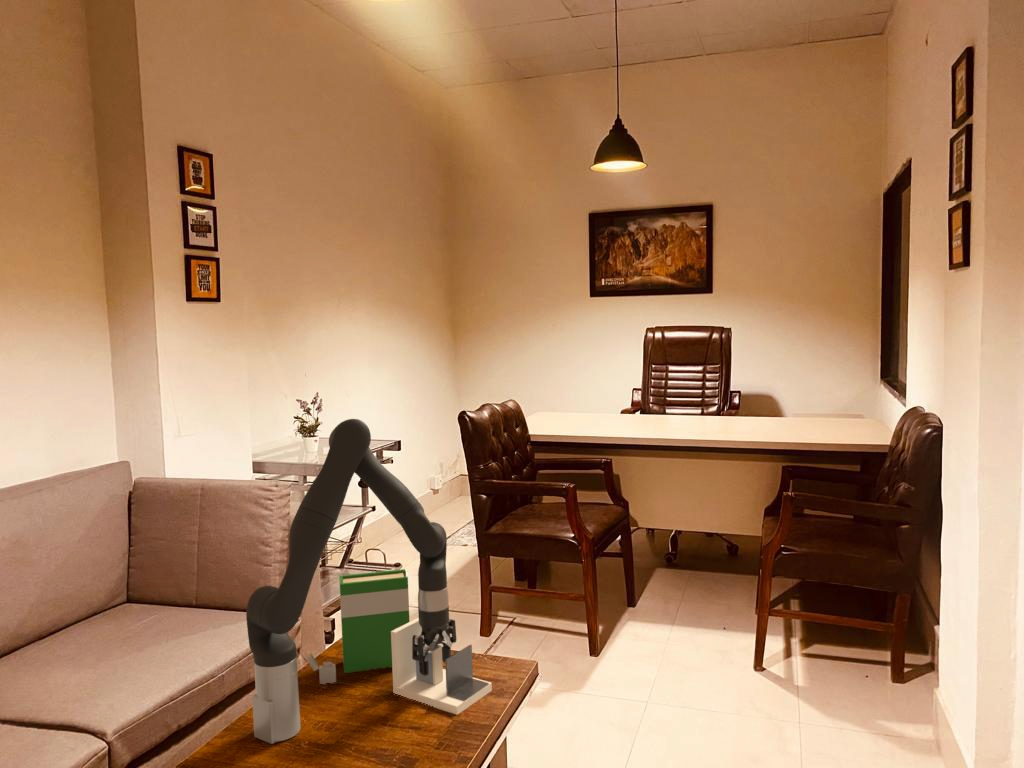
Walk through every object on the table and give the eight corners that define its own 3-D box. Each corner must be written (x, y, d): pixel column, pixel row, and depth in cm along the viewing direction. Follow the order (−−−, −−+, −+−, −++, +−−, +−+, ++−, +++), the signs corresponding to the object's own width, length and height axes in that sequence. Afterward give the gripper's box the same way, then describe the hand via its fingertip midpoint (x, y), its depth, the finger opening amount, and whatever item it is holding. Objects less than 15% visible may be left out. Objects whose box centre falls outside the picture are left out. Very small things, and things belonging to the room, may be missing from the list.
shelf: (457, 714, 185) (455, 648, 184) (393, 694, 197) (390, 631, 195) (491, 690, 197) (490, 628, 196) (429, 672, 208) (427, 612, 207)
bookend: (464, 701, 188) (463, 664, 187) (446, 695, 191) (445, 659, 190) (489, 684, 196) (487, 649, 195) (471, 679, 199) (470, 644, 198)
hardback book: (408, 653, 220) (404, 569, 218) (411, 664, 213) (407, 577, 211) (343, 661, 216) (339, 575, 214) (344, 673, 209) (340, 584, 207)
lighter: (336, 679, 205) (334, 649, 205) (336, 682, 204) (334, 652, 203) (307, 683, 204) (306, 653, 203) (307, 686, 202) (306, 656, 201)
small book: (435, 685, 196) (433, 650, 195) (416, 679, 200) (414, 645, 199) (443, 680, 199) (441, 645, 198) (424, 675, 202) (422, 640, 201)
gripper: (426, 617, 188) (428, 683, 189) (463, 598, 200) (465, 660, 201) (402, 611, 192) (405, 675, 194) (439, 593, 204) (442, 654, 205)
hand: (435, 668), depth 197 cm, fingers open, 8 cm apart
